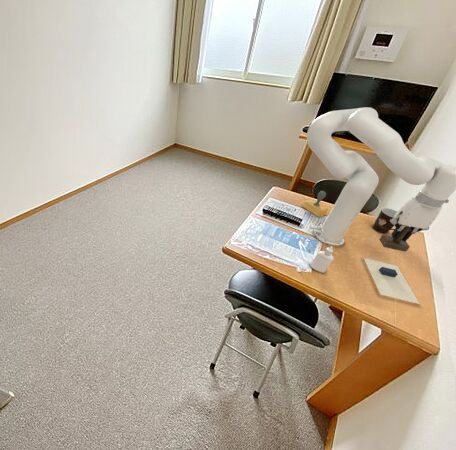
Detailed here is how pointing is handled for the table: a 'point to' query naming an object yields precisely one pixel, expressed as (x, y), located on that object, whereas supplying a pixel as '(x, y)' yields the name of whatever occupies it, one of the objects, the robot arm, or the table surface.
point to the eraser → (388, 272)
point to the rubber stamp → (316, 205)
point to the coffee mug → (384, 220)
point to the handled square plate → (396, 241)
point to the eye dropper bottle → (322, 260)
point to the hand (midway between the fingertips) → (398, 238)
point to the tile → (390, 282)
